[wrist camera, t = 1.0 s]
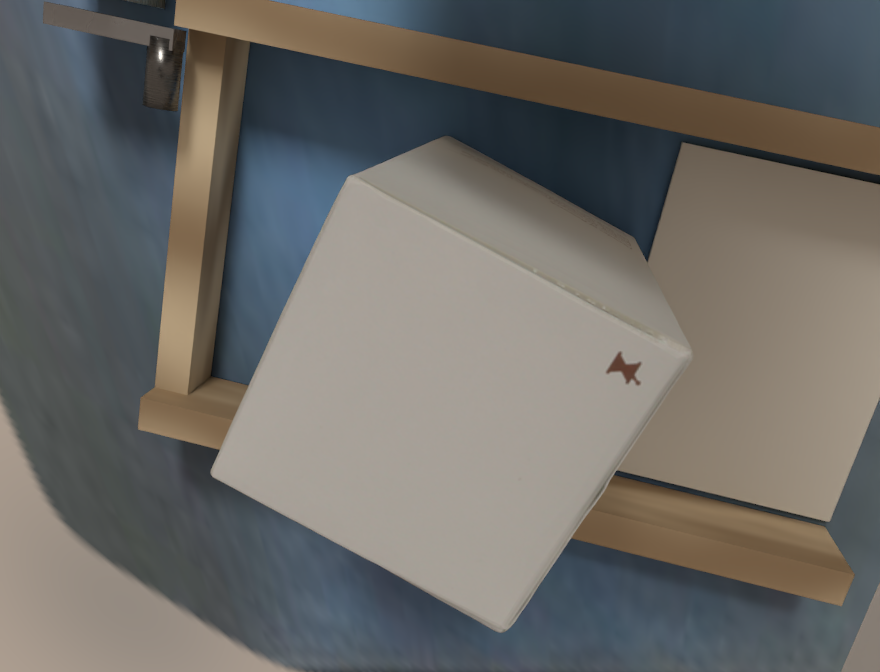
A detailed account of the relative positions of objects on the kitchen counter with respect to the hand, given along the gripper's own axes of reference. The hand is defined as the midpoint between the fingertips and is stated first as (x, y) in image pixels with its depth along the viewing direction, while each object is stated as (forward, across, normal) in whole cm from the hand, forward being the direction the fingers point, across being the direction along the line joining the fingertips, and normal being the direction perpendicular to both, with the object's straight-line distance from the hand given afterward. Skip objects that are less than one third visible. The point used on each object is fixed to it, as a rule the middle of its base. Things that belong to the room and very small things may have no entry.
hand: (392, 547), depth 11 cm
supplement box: (+17, 0, 0) cm, 17 cm away
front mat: (+17, +9, 0) cm, 19 cm away
